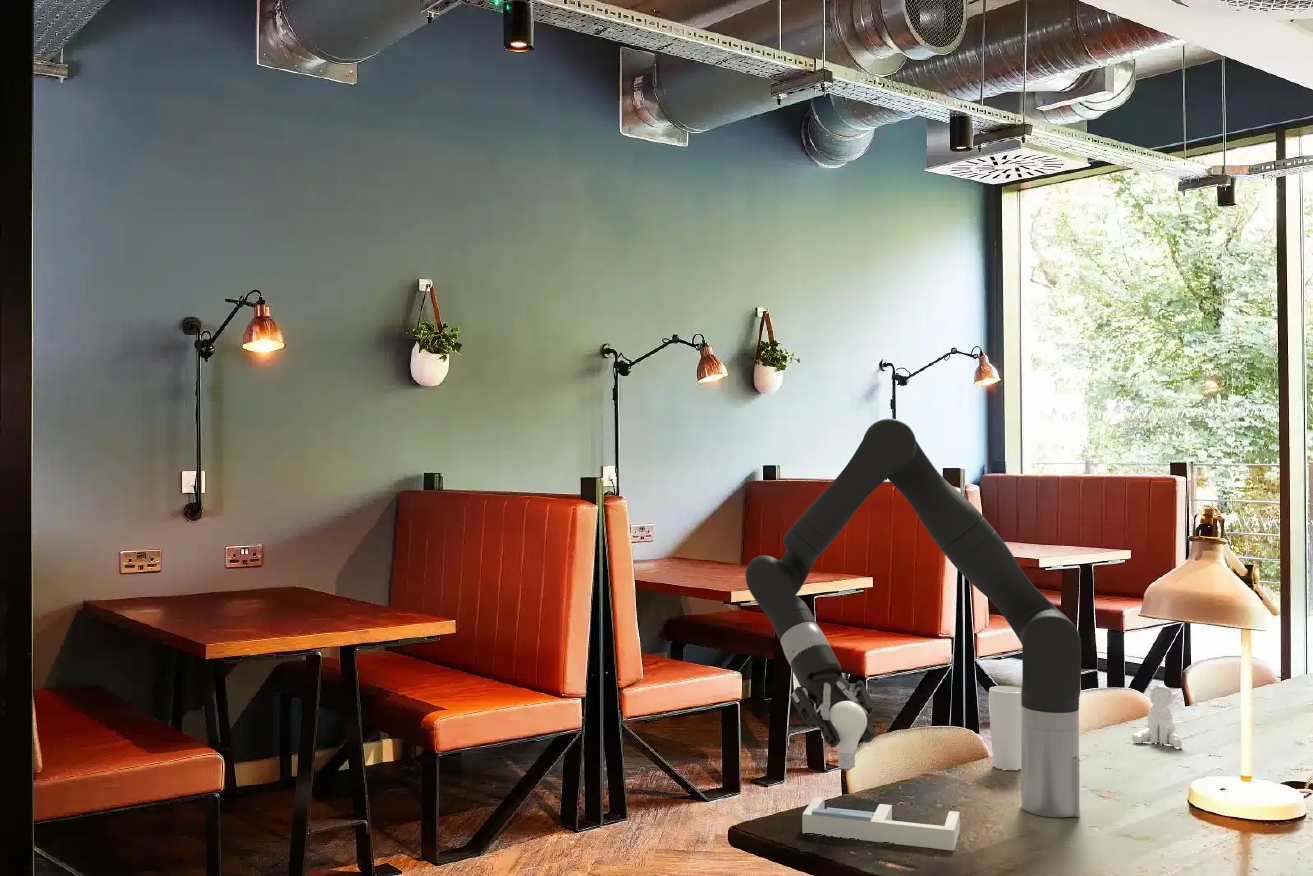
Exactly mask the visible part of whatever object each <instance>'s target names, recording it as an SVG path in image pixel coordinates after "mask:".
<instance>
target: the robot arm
mask: <svg viewBox="0 0 1313 876" xmlns="http://www.w3.org/2000/svg"><path fill="white" fill-rule="evenodd" d="M864 433H865V434H864V435H863V438H862V440H861V442H860V444H859V446H857V449H856V450H855V452H854V454H853V455H852V456H851V459H850V460H849V461H848V463H847V464H846V465H845V467H844V468H843V469H842V471H841V472H840V473H839V474H838V476H837V477H836V478H835V479H834V480H833V482H831V484H829V486H828V487H827V488H826V489H825V490H824V491H823V492H822V493H821V494H820V495H819V496H818V497H817V498H816V500H814V502H812V504H810V506H809V507H808V508H807V509H806V510H805V511H804V512H803V513H802V514H801V516H800V517H798V519H797V520H796V521H795V522H794V523H793V525H792V526H791V527H790V528H789V529H788V530H787V532H785V534H784V536H783V540H782V541H783V543H782V544H783V546H784V547H785V548H786V549H785V552H784V554H783V556H782V557H781V559H779V560H778V559H776V557H773V556H770V555H758V556H755V557H754V558H752V560H751V561H750V562H749V563H748V565H747V566H746V569H745V582H746V585H747V587H748V588H747V589H748V590H749V593H750V594H751V596H752V597H753V599H754V600H755V602H756V603H757V604H758V606H759V607H760V609H761V610H762V612H763V613H764V614H765V615H766V616H767V618H768V619H769V621H770V623H771V626H772V628H773V630H774V632H775V634H776V636H777V638H778V640H779V642H780V644H781V647H782V650H783V653H784V656H785V658H786V660H787V661H788V663H789V666H790V669H791V670H792V672H793V675H794V676H795V678H796V681H797V682H798V685H799V686H797V687H796V688H795V689H794V691H793V692H792V694H791V695H790V697H789V698H790V701H791V703H792V704H793V706H794V707H795V708H796V711H797V712H798V714H799V716H800V718H802V719H801V720H802V721H803V722H804V724H805V725H806V726H808V727H811V726H815V727H816V728H817V729H819V731H820V733H821V734H822V736H823V738H824V740H825V742H826V744H827V745H829V746H830V748H837V747H836V746H837V745H838V744H839V742H840V738H839V736H838V734H837V732H836V730H835V728H834V726H833V724H832V723H831V720H830V721H828V719H829V711H830V709H831V708H832V707H833V706H834V705H835V704H836V703H838V702H841V701H851V702H854V703H856V704H858V705H859V706H860V707H861V708H862V709H863V710H864V712H865V714H866V717H867V727H866V730H865V732H864V734H863V735H862V737H861V738H862V739H863V741H864V743H867V744H868V743H871V742H872V741H873V739H875V736H876V735H875V734H876V732H875V729H874V727H873V725H872V723H871V721H870V720H869V717H870V715H871V714H872V713H873V712H874V711H875V706H874V704H873V702H872V699H871V697H870V694H869V692H868V689H867V688H866V684H865V682H864V681H863V680H857V682H855V683H851V682H850V683H849V681H848V680H847V679H845V677H844V676H843V671H842V666H841V664H840V662H839V661H838V659H837V657H836V655H835V653H834V651H833V649H832V647H831V645H830V643H829V641H828V639H827V637H826V636H825V634H824V632H823V630H822V629H821V628H820V627H819V625H818V623H817V621H816V619H815V617H814V616H813V613H812V611H811V610H810V608H809V607H808V605H807V604H806V602H805V601H804V600H802V598H800V597H799V596H798V593H799V591H800V590H801V588H802V587H803V586H804V584H805V582H806V580H807V578H808V577H809V574H810V572H811V571H812V569H813V566H814V565H815V562H816V560H817V559H818V558H819V557H820V556H821V554H823V553H824V552H825V551H826V549H827V548H828V547H829V546H830V545H831V544H832V542H833V541H834V540H835V539H836V537H838V535H839V534H840V533H841V532H842V531H843V529H844V527H846V525H847V524H848V522H849V521H850V520H851V519H852V517H853V515H854V514H855V513H856V512H857V510H858V509H859V508H860V507H861V506H862V504H863V503H864V502H865V501H866V499H867V498H868V497H869V496H870V495H871V494H872V493H873V492H874V491H876V489H877V488H878V487H879V486H881V485H882V483H884V482H886V480H888V481H889V482H890V483H891V484H892V485H893V486H894V487H895V488H896V490H897V491H899V492H900V493H901V494H902V496H903V497H905V499H906V500H907V501H908V503H909V504H910V506H911V507H912V509H913V510H914V512H915V513H916V515H917V517H918V519H919V520H920V522H921V523H922V525H923V526H924V528H925V530H926V531H927V533H928V534H929V536H930V537H931V538H932V540H933V541H934V542H935V543H936V546H937V547H938V548H939V549H940V550H941V552H942V553H943V554H944V555H945V556H946V557H947V559H948V560H949V561H950V562H951V563H952V565H953V566H954V568H956V569H957V571H959V573H960V574H961V575H962V576H963V577H964V578H965V579H966V580H967V581H968V582H969V583H970V584H972V586H974V588H976V589H977V590H978V591H979V592H980V593H982V595H984V596H985V597H986V598H987V599H988V600H989V601H990V602H991V603H993V605H994V607H996V608H997V610H998V611H999V612H1000V614H1002V616H1003V618H1004V619H1005V620H1006V622H1007V624H1008V625H1009V626H1010V628H1011V630H1013V633H1015V636H1016V637H1017V639H1018V640H1019V642H1020V644H1021V646H1022V649H1021V650H1022V652H1021V653H1022V665H1021V666H1022V675H1021V676H1022V678H1021V679H1022V681H1021V688H1022V690H1021V769H1020V772H1021V776H1020V777H1021V779H1020V780H1021V783H1020V784H1021V787H1020V788H1021V793H1020V798H1021V799H1020V800H1021V802H1020V803H1021V804H1020V805H1021V808H1022V809H1023V810H1024V811H1025V812H1028V813H1030V814H1034V815H1036V816H1037V815H1038V816H1041V817H1047V818H1048V817H1050V818H1070V817H1073V818H1079V817H1081V816H1080V696H1081V689H1082V688H1081V687H1082V684H1081V681H1082V677H1081V676H1082V644H1081V643H1082V640H1081V636H1080V633H1079V631H1078V629H1077V627H1076V625H1075V624H1074V622H1072V620H1071V619H1069V617H1068V616H1066V615H1065V614H1064V613H1063V612H1062V611H1060V610H1059V608H1057V607H1056V606H1055V605H1054V604H1053V603H1052V602H1051V601H1050V600H1049V599H1048V598H1046V597H1045V595H1044V594H1043V593H1042V592H1040V590H1039V589H1038V588H1037V587H1036V586H1035V585H1034V584H1033V582H1031V580H1030V579H1029V577H1027V575H1026V573H1025V572H1024V571H1023V569H1022V568H1021V566H1020V564H1019V563H1018V561H1017V559H1016V558H1015V556H1014V555H1013V553H1012V552H1011V550H1010V549H1009V547H1008V546H1007V544H1006V543H1005V542H1004V540H1003V538H1001V536H1000V535H999V534H998V532H997V531H996V530H995V529H994V527H993V526H992V525H991V524H990V522H989V521H988V520H987V519H986V518H985V517H984V515H983V514H982V513H981V512H980V511H979V510H978V509H977V508H976V507H975V505H974V504H972V503H971V502H970V501H969V499H968V498H966V497H965V496H964V495H963V494H962V493H961V492H960V491H959V490H958V489H956V488H955V487H954V486H953V485H952V484H950V482H949V481H947V480H946V479H945V478H944V477H943V475H942V474H940V472H939V471H938V470H937V469H936V467H935V466H934V465H933V463H932V462H931V460H930V459H929V457H928V456H927V455H926V453H925V452H924V451H923V449H922V447H921V446H920V444H919V443H918V441H917V439H916V435H915V433H914V431H913V430H912V429H911V427H910V426H909V425H908V424H907V423H905V422H904V421H903V420H902V421H901V420H899V419H895V418H884V419H880V420H877V421H876V422H873V423H872V424H871V425H870V426H869V427H868V428H867V430H866V431H865V432H864ZM812 703H813V704H812Z"/></svg>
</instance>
